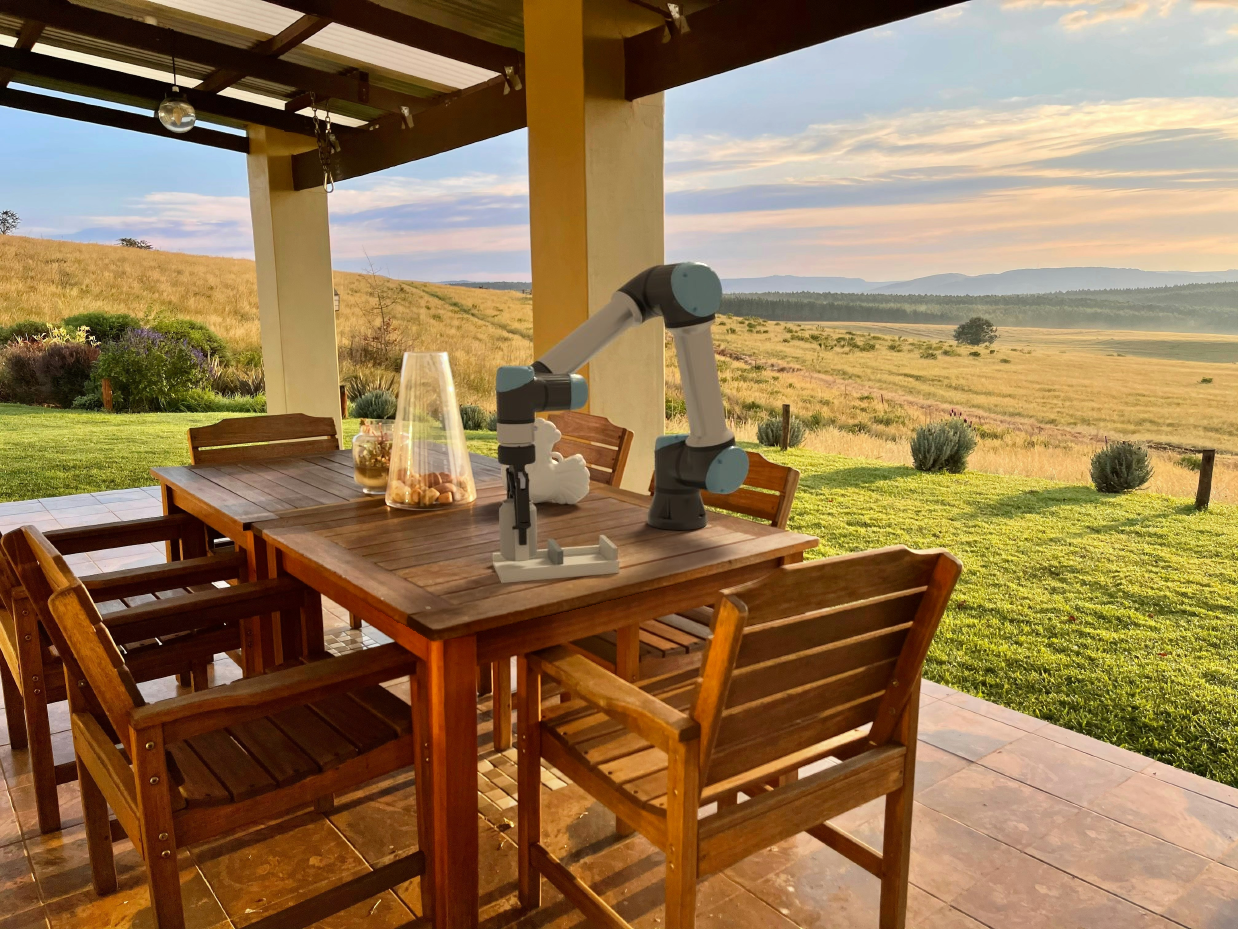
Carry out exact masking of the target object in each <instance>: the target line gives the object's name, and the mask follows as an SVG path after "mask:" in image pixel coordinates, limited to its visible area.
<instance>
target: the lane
mask: <svg viewBox="0 0 1238 929" xmlns="http://www.w3.org/2000/svg"><path fill="white" fill-rule="evenodd" d="M598 536H599V539H598V540H599V541H598V543H599V544H596V545H595V544H594V545H582V546H580V545H579V546H569V547H567V546H566V547H560V548H561V549H562V550H563V564H558V565H553V564H552V562H551V561H550V560H549V558H548V548H544V549H543V548H541V549H537V554H536V555H535V556H534V557H533V558H532V559H530V560H527V561H508V560H506V559H505V558H504V557H502V556H501V554H500V552H492V566H493V568H494V570H495V573H496V574H497V576H498V578H499V580H500V583H501V584H504V583H516V582H517V583H518V582H528V581H529V582H530V581H539V580H552V579H563V578H574V577H575V578H576V577H585V576H586V577H587V576H598V575H610V574H619V573H620V560H619V548H618V546H617V545H615V543H613V542H612V541H611V539H609V538H608V537H607V536H606V535H605V534H599V535H598Z"/></svg>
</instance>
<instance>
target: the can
mask: <svg viewBox="0 0 1238 929" xmlns="http://www.w3.org/2000/svg"><path fill="white" fill-rule="evenodd" d="M532 502H533V500H532V499H529V503H530V523H531V527H530V528H529V560H530V559H532V558H533V557H534V556H535V555H536V554H537V550H538V526H537V520H538V519H537V518H538V517H537V516H538V514H537V507H536V505H535V504H534V503H533V504H532ZM501 503H502V505H501V506H500V507H499V508H498V517H499V518H498V519H499V520H498V522H499V524H498V525H499V550H500V552H499V553H500V554H501V556H502V557H504V558H505V559H506V560H508V561H516V560H515V530H512V527H513V526H515V525H516V523H515V510H514V499H513V498H511V499H507V498H506V499H504V500H502V501H501ZM522 522H525V521H522ZM521 561H527V560H521Z"/></svg>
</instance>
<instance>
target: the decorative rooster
mask: <svg viewBox="0 0 1238 929" xmlns="http://www.w3.org/2000/svg"><path fill="white" fill-rule="evenodd" d="M535 426H537V427H538V430H537V431H534V433H535V441H534V442H532V444H534V445H535V452H536V461H535V462H534V463H532V464H527V465H525V471H526V473H528V477H529V480H530V481H529V499H532V500H533V502H532V504H533V505H534V504H538V503H545V502H549V501H554V502H555V503H558V504H559V505H565V504H568V505H575V504H576V503H578V502H579V501H581V499H584V498H585V497H586V495H588V493H589V492H590V486H589V484H590V478H591V477H590V476H591V474H590V471H589V469H588V467H586V466H587V462H586V460H585V459H584V457H583V455H582V454H580V453H577V454H573V455H570V456H568V457H566V458H564V457H563V455H562V454H561V453H560V452H557V451H552V450H553V447H554V445H555V444H556V443H557V442H559V441H561V438H562V433H561V431H560V430H559V429H557V426H556V425H555V423H553V422H552V421H550V420H546V419H544V418H543V417H535ZM553 457H555V458H557V460H558V461H556V460H554V459H552V458H553ZM507 467H509V465H503V464H501V468H500V477H501V480H502V486H503V489H505V491H506V492H507V478H506V468H507Z"/></svg>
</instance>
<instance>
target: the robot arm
mask: <svg viewBox="0 0 1238 929" xmlns="http://www.w3.org/2000/svg"><path fill="white" fill-rule="evenodd" d="M722 299H723V287H722V283H721V281H720V277H719V275H718V274H717V273H716V272H715V270H714V269H713V268H711V267H710V266H709V265H707V264H705V263H702V262H697V261H696V262H695V261H694V262H693V261H692V262H691V261H685V262H684V261H683V262H677V263H676V262H674V263H668V264H657V265H653V266H651V267H648V268H646V269H644V270H643V271H641V272H640V273H638V274H637V275H635V276H634V277H632V278H631V279H630V280H628V281H627V282H626V283H625V284H623V285H622V286H621V287H619V288H618V289H617V290H616V291H615V292H613V293H612V294H611V297H610V301H608V303H607V304H605V305H604V306H603V307H601V308H600V309H599V310H598V311H597V312H595V313H594V314H593V315H592V316H590V317H589V318H588V319H587V320H585V321H584V322H583V323H581V324H580V325H579V326H578V327H577V328H575V329H574V330H573V331H571V332H570V333H569V334H567V335H566V336H565V337H564V338H563V339H561V340H560V341H559V342H558V343H557V344H555V345H554V346H553V347H552V348H550V349H549V350H548V351H547V352H545V353H544V354H542V355H541V356H540V357H539V358H537V359H536V360H535V361H534V362H532V363H531V364H530V365H503V366H500V367H498V368H497V370H496V375H495V388H494V389H495V398H496V440H497V441H496V442H497V443H499V445H498V446H497V462H498V463H499V464H500V465H502V464H503V465H509V467H507V468H506V478H507V491H506V499H511V498H513V499H514V510H515V523H516V525H515V526H513V527H512V530H515V560H516V561H521V560H529V528H530V527H531V523H530V503H529V481H530V480H529V477H528V473H526V471H525V465H527V464H532V463H534V462H535V461H536V452H535V445H534V444H532V442H534V441H535V433H534V431H537V430H538V427H537V426H535V419H536V413H543V412H546V413H547V412H562V411H563V412H565V411H568V412H572V411H575V410H581V409H582V408H584V407H585V406H586V404H587V402H588V400H589V387H588V386H589V385H588V383H587V380H586V379H585V377H584V376H583V375H581V374H579V373H577V372H578V371H579V370H581V369H582V368H583V367H584V366H585V365H586V364H587V363H589V362H590V361H592V359H594V358H595V357H596V356H597V355H598V354H600V353H601V352H602V351H603V350H605V349H606V348H607V347H609V345H611V344H612V343H614V341H616V340H617V339H618V338H620V337H621V335H623V334H625V332H627V331H628V330H629V329H630V328H639V327H640V326H641V325H643V323H645V322H646V321H649V320H652V319H655V318H658V317H662V319H663V324H664V329H665V330H666V331H668V332H669V333H671V334H672V337H673V341H674V342H673V343H674V348H675V353H676V360H677V365H678V370H679V376H680V380H681V382H680V383H681V387H682V392H683V393H682V394H683V398H684V404H685V410H686V411H685V412H686V415H687V421H688V426H689V427H688V428H689V433H688V432H687V433H686V432H685V433H673V434H665V435H664V434H663V435H660V436H659V435H658V437H656V439H655V441H654V442H655V444H654V450H653V453H654V494H653V497H652V500H651V504H650V506H649V508H648V509H649V510H648V512H647V524H648V525H649V526H651V527H652V528H657V529H662V530H672V531H676V530H677V531H686V530H697V529H701V528H703V527H706V525H707V523H708V522H707V521H708V515H707V511H706V508H705V505H704V502H703V498H702V495H701V490H702V491H705V492H706V491H707V492H709V493H712V494H721V495H728V494H732V493H734V492H735V491H737V490H738V489H739V488H741V486H742V485H743V483H744V481H745V480H746V478H747V475H748V473H749V466H750V461H749V460H750V459H749V456H748V454H747V452H746V451H745V450H744V449H743V448H742V447H740V446H738V445H737V443H736V437H735V432H734V431H733V430H731V429H730V428H728V427H727V422H726V416H725V409H724V404H723V397H722V391H721V385H720V379H719V373H718V372H719V371H718V366H717V359H716V355H715V353H716V352H715V348H714V340H713V336H712V329H711V328H712V326H713V324H714V322H716V319H717V318H716V311H717V310H718V309H719V307H720V306H721V304H720V303H721V302H722ZM522 521H525V522H522Z"/></svg>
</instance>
